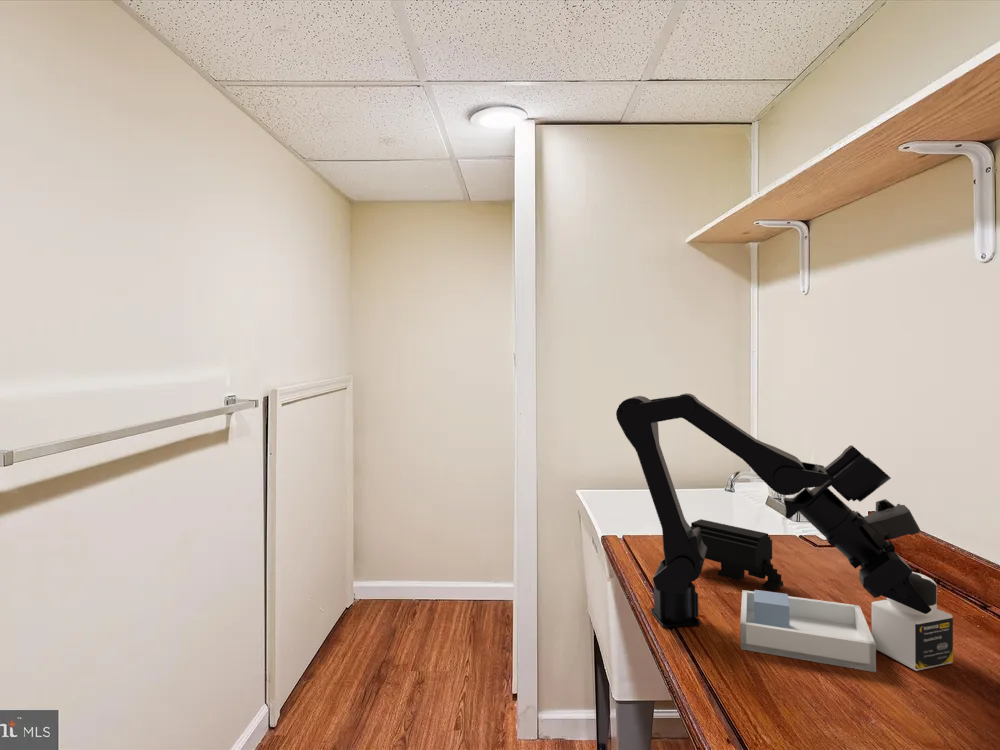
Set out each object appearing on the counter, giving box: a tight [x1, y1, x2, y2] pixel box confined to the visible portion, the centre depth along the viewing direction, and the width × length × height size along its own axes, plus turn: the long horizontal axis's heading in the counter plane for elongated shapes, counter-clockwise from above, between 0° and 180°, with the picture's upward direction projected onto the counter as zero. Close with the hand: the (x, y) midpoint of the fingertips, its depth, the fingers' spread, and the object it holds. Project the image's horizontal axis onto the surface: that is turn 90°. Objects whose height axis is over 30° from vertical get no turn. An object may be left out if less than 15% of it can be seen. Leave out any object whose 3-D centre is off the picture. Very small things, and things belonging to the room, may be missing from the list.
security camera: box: [690, 518, 784, 592], centre depth 115 cm, size 7×18×10 cm, turn 40°
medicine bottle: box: [871, 571, 954, 672], centre depth 83 cm, size 7×7×12 cm
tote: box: [739, 589, 877, 673], centre depth 89 cm, size 18×14×4 cm
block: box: [753, 589, 790, 629], centre depth 91 cm, size 5×5×5 cm
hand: (922, 602), depth 82 cm, fingers closed on medicine bottle, 6 cm apart
